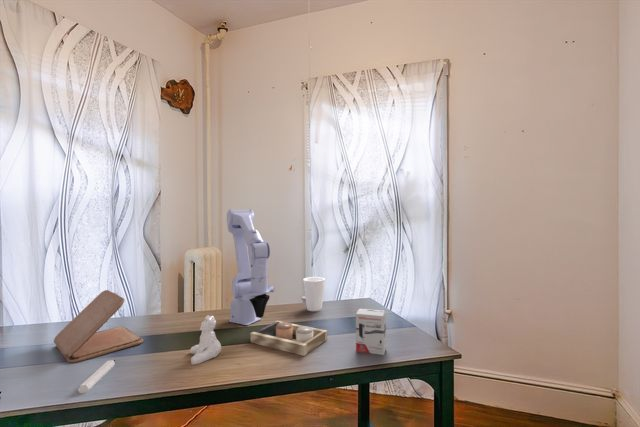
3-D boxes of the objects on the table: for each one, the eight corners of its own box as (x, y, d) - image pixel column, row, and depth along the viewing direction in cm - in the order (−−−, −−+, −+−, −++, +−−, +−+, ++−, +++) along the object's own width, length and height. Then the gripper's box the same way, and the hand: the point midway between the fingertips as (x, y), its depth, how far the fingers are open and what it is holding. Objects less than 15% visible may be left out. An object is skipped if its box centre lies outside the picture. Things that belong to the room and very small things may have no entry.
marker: (115, 365, 94) (84, 396, 78) (108, 362, 94) (76, 392, 78) (120, 357, 94) (90, 386, 79) (113, 354, 94) (82, 382, 78)
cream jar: (292, 346, 104) (292, 330, 104) (302, 340, 109) (302, 325, 109) (307, 349, 101) (307, 333, 101) (316, 343, 106) (316, 327, 106)
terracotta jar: (272, 340, 108) (272, 325, 108) (283, 335, 113) (283, 321, 113) (285, 344, 105) (285, 329, 105) (295, 339, 110) (296, 324, 110)
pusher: (250, 339, 110) (250, 329, 110) (270, 329, 119) (270, 319, 119) (260, 341, 108) (260, 331, 108) (279, 331, 117) (279, 321, 117)
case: (52, 347, 106) (51, 297, 106) (125, 329, 121) (124, 285, 121) (65, 367, 92) (64, 310, 92) (146, 344, 107) (145, 295, 107)
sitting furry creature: (190, 352, 100) (189, 313, 100) (219, 347, 104) (219, 309, 104) (191, 365, 92) (190, 322, 91) (223, 360, 95) (222, 318, 95)
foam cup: (301, 311, 139) (301, 281, 139) (305, 305, 148) (305, 276, 148) (323, 312, 138) (323, 281, 138) (326, 306, 147) (326, 277, 147)
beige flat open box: (250, 342, 107) (250, 333, 107) (277, 328, 119) (277, 320, 119) (304, 355, 97) (304, 345, 97) (327, 339, 109) (327, 330, 109)
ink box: (355, 352, 99) (355, 312, 99) (358, 345, 104) (358, 308, 104) (384, 355, 97) (384, 315, 97) (386, 348, 101) (385, 310, 101)
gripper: (253, 282, 106) (254, 325, 106) (281, 274, 119) (281, 312, 119) (237, 280, 110) (238, 321, 110) (265, 273, 122) (266, 310, 122)
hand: (259, 316), depth 114 cm, fingers closed
